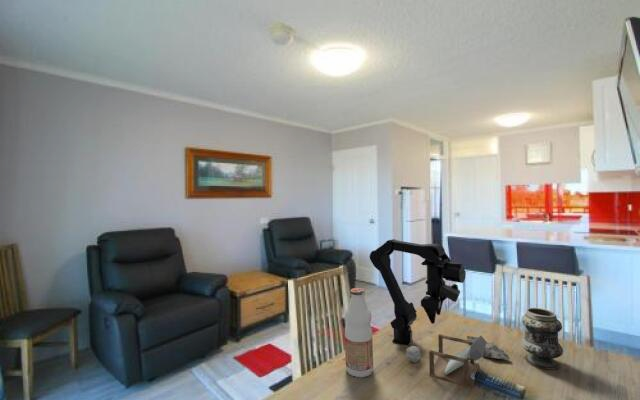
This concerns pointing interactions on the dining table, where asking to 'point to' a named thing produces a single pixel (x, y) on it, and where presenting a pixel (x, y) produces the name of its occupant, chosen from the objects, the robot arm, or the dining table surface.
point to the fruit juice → (358, 336)
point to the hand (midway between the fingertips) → (435, 319)
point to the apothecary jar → (541, 338)
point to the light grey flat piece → (468, 354)
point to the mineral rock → (491, 350)
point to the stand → (437, 370)
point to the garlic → (413, 354)
